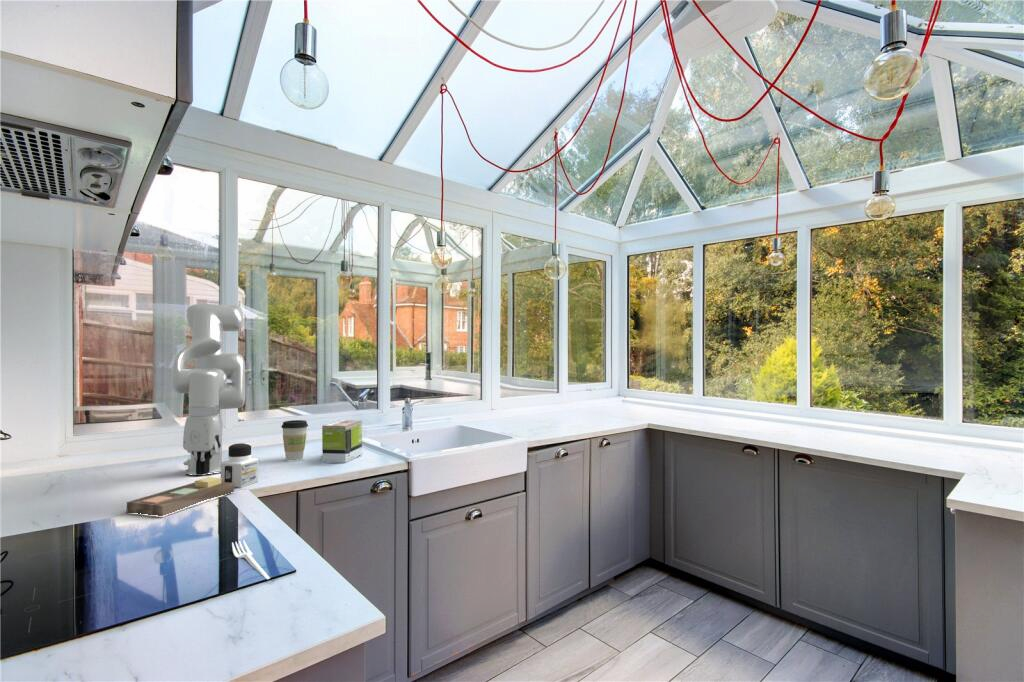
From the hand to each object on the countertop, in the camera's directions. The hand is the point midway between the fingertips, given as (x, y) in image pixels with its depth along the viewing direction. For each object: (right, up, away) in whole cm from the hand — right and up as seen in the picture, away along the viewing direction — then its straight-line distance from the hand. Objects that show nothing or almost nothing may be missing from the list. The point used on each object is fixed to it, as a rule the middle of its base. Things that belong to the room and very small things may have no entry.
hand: (202, 473), depth 145 cm
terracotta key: (-3, -6, -14) cm, 16 cm away
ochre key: (+1, -5, +1) cm, 5 cm away
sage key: (-1, -6, -6) cm, 9 cm away
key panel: (-1, -7, -6) cm, 9 cm away
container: (+4, -7, +13) cm, 15 cm away
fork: (+39, -7, -45) cm, 60 cm away
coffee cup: (+5, -8, +50) cm, 51 cm away
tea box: (+24, -8, +51) cm, 57 cm away
